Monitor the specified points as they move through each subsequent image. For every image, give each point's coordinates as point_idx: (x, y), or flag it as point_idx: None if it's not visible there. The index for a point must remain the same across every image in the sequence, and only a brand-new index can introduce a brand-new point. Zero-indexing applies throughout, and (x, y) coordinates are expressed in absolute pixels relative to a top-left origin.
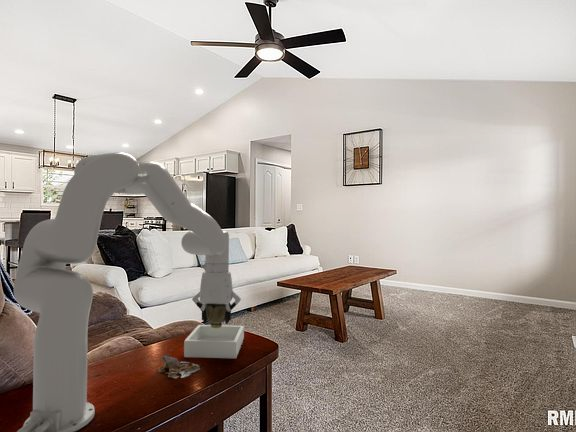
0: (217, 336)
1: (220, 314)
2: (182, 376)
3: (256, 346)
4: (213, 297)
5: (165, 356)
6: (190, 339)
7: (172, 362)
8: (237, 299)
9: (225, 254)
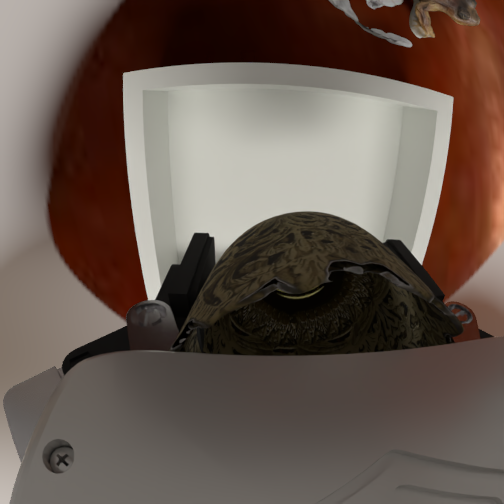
0: None
1: (247, 243)
2: None
3: (103, 229)
4: (424, 453)
5: (470, 12)
6: (426, 147)
7: None
8: (24, 410)
9: None
